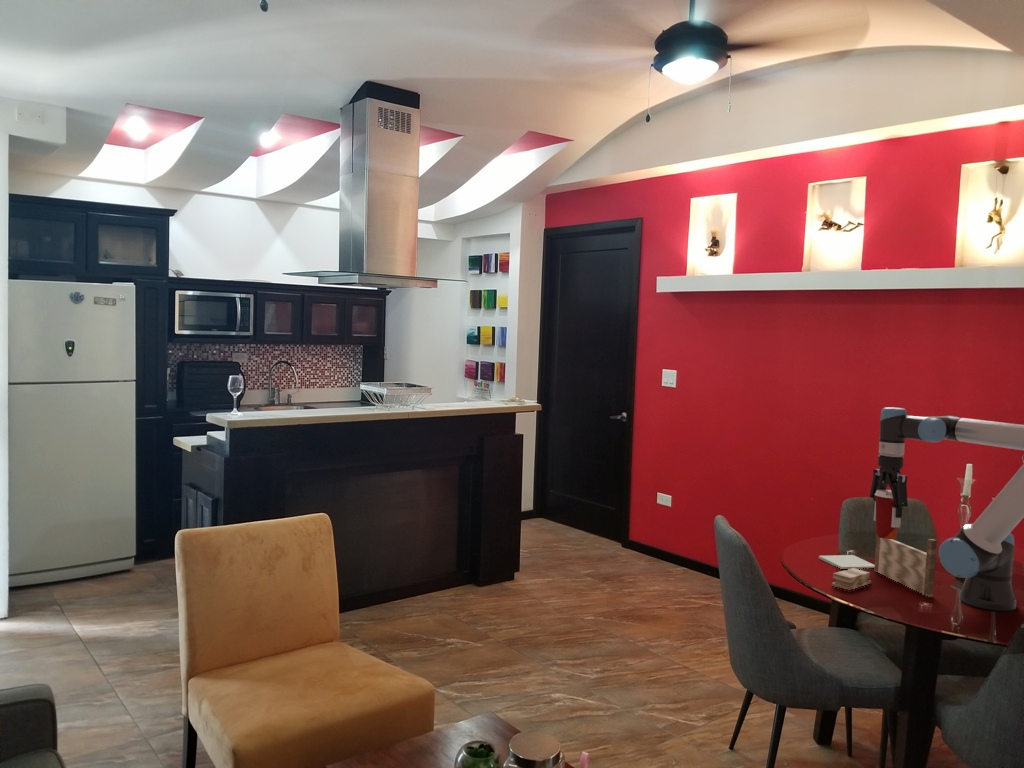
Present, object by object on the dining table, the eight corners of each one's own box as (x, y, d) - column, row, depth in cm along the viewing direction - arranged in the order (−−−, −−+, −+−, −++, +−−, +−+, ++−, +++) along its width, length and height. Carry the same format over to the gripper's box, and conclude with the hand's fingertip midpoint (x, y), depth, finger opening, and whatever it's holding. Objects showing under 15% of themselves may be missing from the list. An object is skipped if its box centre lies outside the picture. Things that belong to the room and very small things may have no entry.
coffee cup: (901, 541, 254) (904, 494, 253) (873, 538, 256) (876, 492, 256) (898, 535, 262) (900, 490, 261) (870, 532, 264) (873, 488, 264)
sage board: (877, 569, 278) (877, 566, 278) (841, 569, 275) (841, 567, 275) (853, 557, 292) (853, 555, 292) (818, 558, 289) (818, 555, 289)
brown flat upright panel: (932, 596, 249) (936, 540, 248) (927, 597, 249) (931, 540, 248) (878, 571, 275) (882, 520, 274) (874, 571, 274) (877, 520, 273)
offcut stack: (850, 592, 251) (851, 578, 251) (830, 587, 256) (831, 573, 256) (871, 585, 260) (872, 571, 260) (852, 579, 265) (853, 566, 265)
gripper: (860, 450, 267) (856, 516, 268) (902, 459, 247) (898, 532, 248) (880, 450, 269) (876, 516, 270) (923, 460, 248) (919, 531, 249)
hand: (886, 523), depth 259 cm, fingers closed on coffee cup, 8 cm apart
